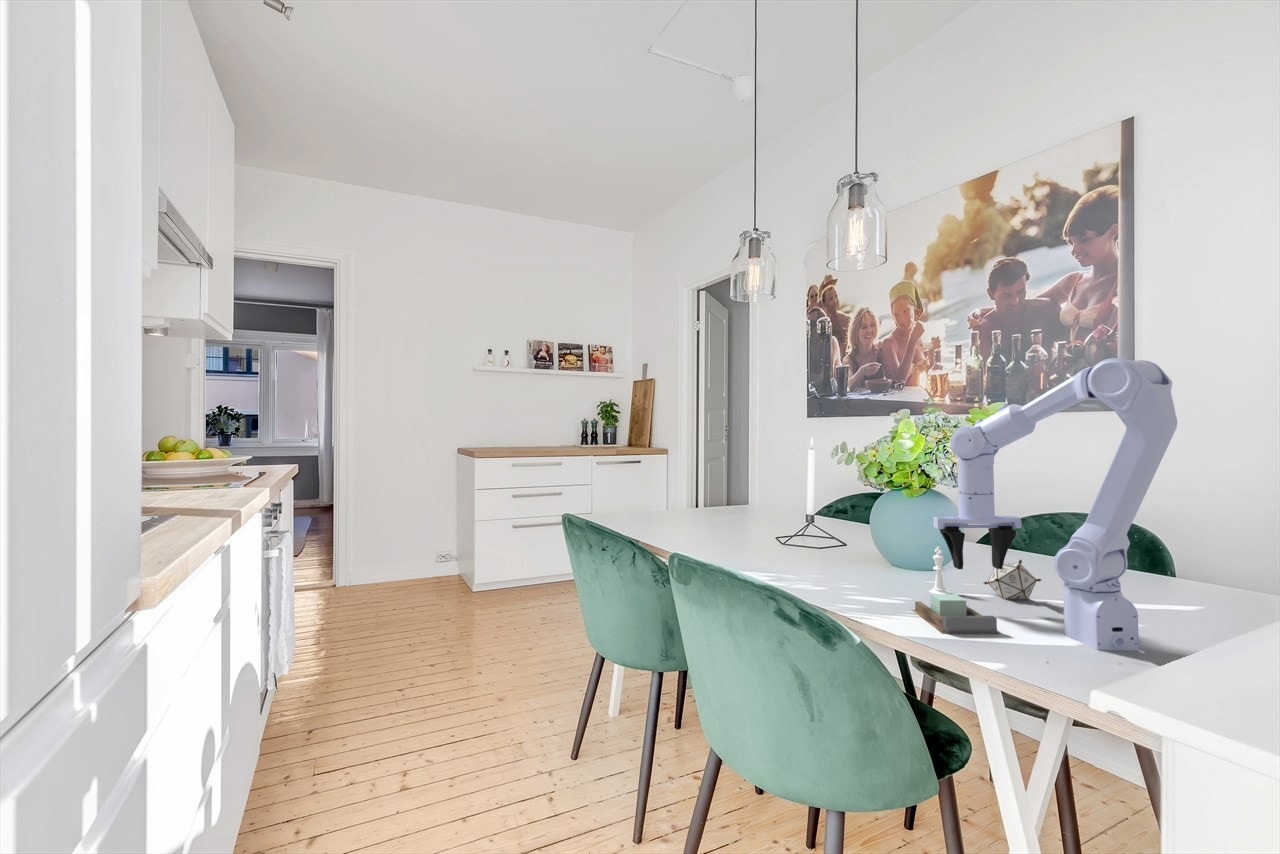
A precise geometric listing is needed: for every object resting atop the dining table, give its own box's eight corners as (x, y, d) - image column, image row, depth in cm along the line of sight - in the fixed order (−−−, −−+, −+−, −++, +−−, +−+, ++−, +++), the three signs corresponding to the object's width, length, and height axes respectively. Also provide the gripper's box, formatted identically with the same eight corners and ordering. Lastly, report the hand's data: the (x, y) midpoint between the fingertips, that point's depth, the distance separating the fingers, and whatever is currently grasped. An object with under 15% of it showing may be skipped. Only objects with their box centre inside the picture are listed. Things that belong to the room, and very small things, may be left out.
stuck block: (966, 621, 103) (966, 600, 103) (940, 621, 103) (939, 600, 104) (956, 613, 107) (955, 594, 107) (930, 613, 107) (930, 594, 108)
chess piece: (938, 600, 119) (937, 550, 119) (920, 594, 124) (919, 545, 124) (959, 598, 120) (957, 548, 120) (940, 592, 125) (939, 543, 125)
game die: (1014, 618, 119) (1033, 574, 121) (1037, 615, 111) (1056, 568, 113) (969, 593, 121) (989, 550, 124) (988, 589, 113) (1008, 543, 116)
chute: (1001, 640, 97) (1000, 618, 97) (942, 639, 97) (942, 618, 97) (963, 615, 110) (962, 595, 110) (912, 615, 110) (911, 596, 110)
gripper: (1005, 490, 113) (1007, 562, 113) (926, 491, 114) (927, 563, 114) (1027, 494, 106) (1029, 571, 106) (942, 495, 107) (943, 572, 107)
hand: (977, 568), depth 110 cm, fingers open, 6 cm apart
